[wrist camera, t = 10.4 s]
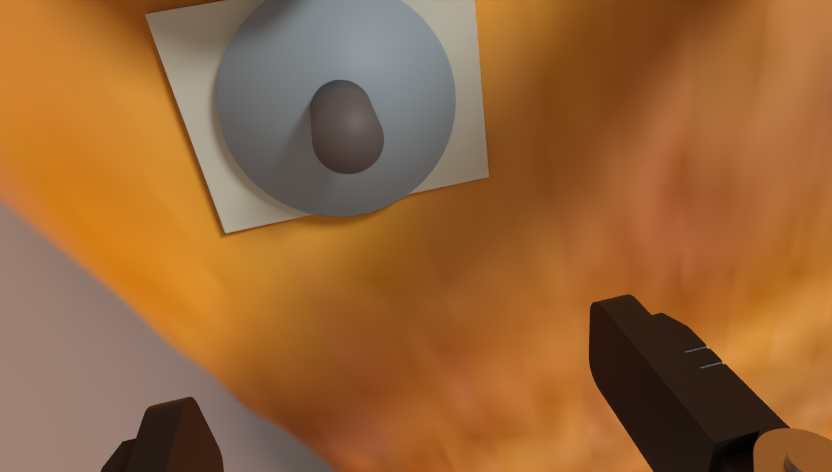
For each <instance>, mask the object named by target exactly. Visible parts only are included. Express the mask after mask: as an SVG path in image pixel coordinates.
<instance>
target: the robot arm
mask: <svg viewBox="0 0 832 472" xmlns="http://www.w3.org/2000/svg"><path fill="white" fill-rule="evenodd" d="M589 364H590V369H591V372H592V376H593V378H594V381H595V383H596V385H597V387H598V389H599V390H600V392H601V393H602V395H603V396H604V398H605V399H606V401H607V402H608V404H609V405H610V407H611V408H612V410H613V411H614V413H615V414H616V416H617V417H618V419H619V420H620V422H621V423H622V425H623V426H624V428H625V429H626V431H627V432H628V434H629V435H630V437H631V438H632V440H633V441H634V443H635V444H636V446H637V447H638V449H639V451H640V452H641V454H642V455H643V457H644V458H645V460H646V461H647V463H648V464H649V466H650V467H651V469H652V470H653V472H832V441H831V440H829V439H827V438H825V437H823V436H820V435H818V434H815V433H812V432H809V431H805V430H800V429H793V428H790V427H789V426H788V425H786V424H785V423H784V422H783V421H782V420H781V419H780V418H779V417H778V416H777V415H776V414H775V413H774V412H773V411H772V410H771V409H770V408H769V407H768V406H767V405H766V404H765V403H764V402H763V401H762V400H761V399H760V398H759V397H758V396H757V395H756V394H755V393H754V392H753V391H752V390H751V389H750V388H749V387H748V386H747V385H746V384H745V383H744V382H743V381H742V380H741V379H740V378H739V377H738V376H737V375H736V374H735V373H734V372H733V371H732V370H731V369H730V368H729V367H728V366H727V365H726V364H724V365H723V363H722V360H721V359H720V358H719V357H718V356H717V355H716V354H715V353H714V352H713V351H712V350H711V349H707V347H706V344H705V343H704V342H703V341H702V340H701V339H700V338H699V337H698V336H697V335H696V334H695V333H694V332H693V331H692V330H691V329H690V328H689V327H688V326H686V325H684V324H682V323H681V322H679V321H677V320H675V319H673V318H671V317H669V316H667V315H665V314H664V313H659V314H655V315H651V314H650V313H649V312H648V311H647V310H646V309H645V308H644V307H643V306H642V305H641V303H640V302H639V301H638V300H637V299H636V298H635V297H634V296H632V295H629V294H627V295H623V296H618V297H614V298H610V299H606V300H602V301H597V302H594V303H592V305H591V308H590V332H589ZM101 472H224V469H223V462H222V456H221V452H220V449H219V447H218V445H217V443H216V441H215V439H214V436H213V435H212V432H211V431H210V428H209V426H208V424H207V422H206V420H205V418H204V416H203V414H202V412H201V410H200V408H199V406H198V404H197V402H196V401H195V399H194V398H192V397H186V398H182V399H178V400H174V401H170V402H165V403H161V404H157V405H153V406H150V407H148V409H147V410H146V411H145V414H144V417H143V419H142V422H141V426H140V428H139V431H138V434H137V437H136V439H132V440H127V441H123V442H122V443H121V445H120V446H119V447H118V448H117V450H116V451H115V452H114V454H113V455H112V456H111V457H110V459H109V460H108V461H107V463H106V464H105V465H104V466H103V468H102V470H101Z"/></svg>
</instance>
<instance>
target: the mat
mask: <svg viewBox="0 0 832 472" xmlns="http://www.w3.org/2000/svg"><path fill="white" fill-rule="evenodd" d="M264 1H266V0H221V1H216V2H210V3H204V4H198V5H193V6H187V7H181V8H175V9H169V10H164V11H158V12H152V13H147V14H145V17H146V20H147V22H148V25H149V28H150V31H151V33H152V36H153V39H154V41H155V44H156V47H157V49H158V52H159V55H160V58H161V60H162V63H163V66H164V68H165V71H166V74H167V77H168V79H169V82H170V85H171V87H172V90H173V93H174V95H175V98H176V101H177V104H178V106H179V109H180V112H181V114H182V117H183V120H184V123H185V125H186V128H187V131H188V133H189V136H190V139H191V142H192V144H193V147H194V150H195V152H196V155H197V158H198V160H199V163H200V166H201V169H202V171H203V174H204V177H205V179H206V182H207V185H208V188H209V190H210V193H211V196H212V198H213V201H214V204H215V207H216V209H217V212H218V215H219V217H220V220H221V223H222V225H223V228H224V231H225V233H229V232H234V231H239V230H243V229H248V228H253V227H258V226H262V225H267V224H272V223H276V222H281V221H286V220H290V219H295V218H300V217H305V216H309V215H314V214H310V213H306V212H303V211H300V210H297V209H294V208H292V207H290V206H287V205H285V204H283V203H281V202H279V201H278V200H276V199H274V198H273V197H271V196H270V195H268V194H267V193H265V192H264V191H263V190H262V189H260V188H259V187H258V186H257V185H256V184H255V183H254V182H253V181H252V180H251V179H250V178H249V177H248V176H247V175H246V174H245V173H244V172H243V170H242V169H241V168H240V166H239V165H238V164H237V162H236V161H235V159H234V157H233V155H232V154H231V152H230V150H229V148H228V146H227V144H226V141H225V139H224V136H223V134H222V130H221V126H220V122H219V119H218V111H217V103H216V102H217V81H218V75H219V69H220V66H221V63H222V60H223V56H224V53H225V51H226V49H227V47H228V45H229V43H230V41H231V39H232V37H233V36H234V34H235V33H236V31H237V30H238V28H239V27H240V25H241V24H242V23H243V22H244V20H245V19H246V18H247V17H248V16H249V15H250V14H251V13H252V12H253V10H255V9H256V8H257V7H258V6H259V5H261V4H262V3H263V2H264ZM401 1H402V2H404V3H405V4H407V5H408V6H410V7H411V8H412V9H413V10H414V11H415V12H416V13H418V14H419V15H420V16H421V17H422V18H423V19H424V20H425V22H426V23H427V24H428V25H429V26H430V28H431V29H432V30H433V31H434V33H435V35H436V36H437V38H438V39H439V41H440V43H441V44H442V46H443V48H444V51H445V53H446V55H447V57H448V60H449V63H450V66H451V69H452V73H453V78H454V84H455V93H456V108H455V119H454V124H453V128H452V133H451V135H450V138H449V141H448V144H447V147H446V149H445V151H444V153H443V155H442V157H441V159H440V160H439V162H438V163H437V165H436V166H435V168H434V169H433V171H432V172H431V173H430V174H429V175H428V177H427V178H426V179H425V180H424V181H423V182H422V183H421V184H420V185H419V186H418V187H417V188H416V189H414V190H413V191H412V192H411V193H409V194H412V193H417V192H422V191H427V190H431V189H436V188H441V187H445V186H450V185H455V184H459V183H464V182H469V181H474V180H478V179H483V178H488V177H489V169H488V156H487V144H486V132H485V120H484V108H483V96H482V83H481V71H480V59H479V47H478V35H477V23H476V10H475V0H401Z"/></svg>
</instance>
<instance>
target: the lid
mask: <svg viewBox="0 0 832 472" xmlns="http://www.w3.org/2000/svg"><path fill="white" fill-rule="evenodd" d="M216 103H217V111H218V119H219V122H220V126H221V130H222V134H223V136H224V139H225V141H226V144H227V146H228V148H229V150H230V152H231V154H232V155H233V157H234V159H235V161H236V162H237V164H238V165H239V166H240V168H241V169H242V170H243V172H244V173H245V174H246V175H247V176H248V177H249V178H250V179H251V180H252V181H253V182H254V183H255V184H256V185H257V186H258V187H259V188H260V189H262V190H263V191H264V192H265V193H267V194H268V195H270V196H271V197H273V198H274V199H276V200H278V201H279V202H281V203H283V204H285V205H287V206H290V207H292V208H294V209H297V210H300V211H303V212H306V213H310V214H315V215H320V216H331V217H347V216H356V215H362V214H366V213H370V212H374V211H377V210H380V209H382V208H385V207H387V206H389V205H391V204H393V203H395V202H397V201H399V200H400V199H402V198H404V197H405V196H406V195H408V194H409V193H411V192H412V191H413V190H414V189H416V188H417V187H418V186H419V185H420V184H421V183H422V182H423V181H424V180H425V179H426V178H427V177H428V175H429V174H430V173H431V172H432V171H433V169H434V168H435V166H436V165H437V163H438V162H439V160H440V159H441V157H442V155H443V153H444V151H445V149H446V147H447V144H448V141H449V138H450V135H451V133H452V128H453V124H454V119H455V108H456V93H455V84H454V78H453V73H452V69H451V66H450V63H449V60H448V57H447V55H446V53H445V51H444V48H443V46H442V44H441V43H440V41H439V39H438V38H437V36H436V35H435V33H434V31H433V30H432V29H431V28H430V26H429V25H428V24H427V23H426V22H425V20H424V19H423V18H422V17H421V16H420V15H419V14H418V13H416V12H415V11H414V10H413V9H412V8H411V7H410V6H408V5H407V4H405V3H404V2H402V1H401V0H266V1H264V2H263V3H262V4H261V5H259V6H258V7H257V8H256V9H255V10H253V12H252V13H251V14H250V15H249V16H248V17H247V18H246V19H245V20H244V22H243V23H242V24H241V25H240V27H239V28H238V30H237V31H236V33H235V34H234V36H233V37H232V39H231V41H230V43H229V45H228V47H227V49H226V51H225V53H224V56H223V60H222V63H221V66H220V69H219V75H218V81H217V102H216Z"/></svg>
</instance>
